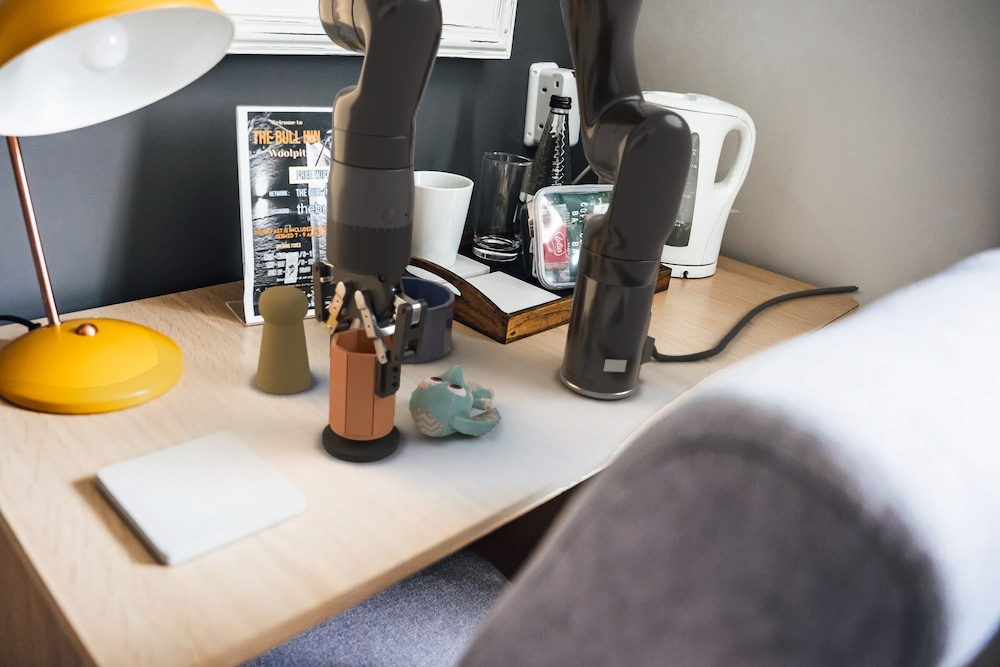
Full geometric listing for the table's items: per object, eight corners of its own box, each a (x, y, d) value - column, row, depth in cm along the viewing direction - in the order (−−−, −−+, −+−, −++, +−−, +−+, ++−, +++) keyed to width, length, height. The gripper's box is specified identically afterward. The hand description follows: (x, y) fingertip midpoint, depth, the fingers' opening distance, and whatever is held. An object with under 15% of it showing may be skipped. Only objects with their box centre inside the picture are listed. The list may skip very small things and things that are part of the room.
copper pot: (367, 402, 80) (370, 323, 77) (406, 426, 76) (412, 344, 73) (317, 420, 76) (318, 337, 72) (356, 447, 72) (360, 361, 69)
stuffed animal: (533, 371, 83) (476, 390, 73) (519, 432, 85) (461, 459, 74) (452, 341, 88) (387, 355, 78) (440, 399, 90) (375, 421, 79)
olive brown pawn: (297, 398, 83) (297, 304, 79) (245, 388, 84) (243, 294, 80) (320, 375, 89) (322, 285, 84) (271, 365, 89) (270, 276, 85)
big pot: (408, 318, 107) (412, 271, 104) (468, 348, 100) (473, 298, 97) (340, 338, 98) (342, 287, 96) (400, 371, 92) (404, 317, 89)
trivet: (367, 414, 82) (367, 407, 81) (415, 444, 77) (415, 437, 77) (306, 437, 76) (306, 430, 76) (354, 471, 72) (354, 464, 72)
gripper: (458, 227, 66) (442, 399, 73) (353, 188, 74) (348, 345, 81) (391, 240, 61) (380, 423, 67) (286, 196, 69) (286, 363, 76)
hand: (363, 380), depth 74 cm, fingers closed on copper pot, 6 cm apart
